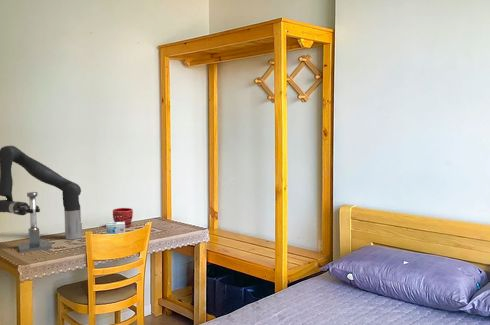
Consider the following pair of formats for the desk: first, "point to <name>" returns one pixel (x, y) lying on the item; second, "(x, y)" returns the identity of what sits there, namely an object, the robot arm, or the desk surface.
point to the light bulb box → (115, 227)
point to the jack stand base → (34, 242)
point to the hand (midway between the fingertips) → (35, 210)
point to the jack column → (33, 206)
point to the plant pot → (123, 216)
